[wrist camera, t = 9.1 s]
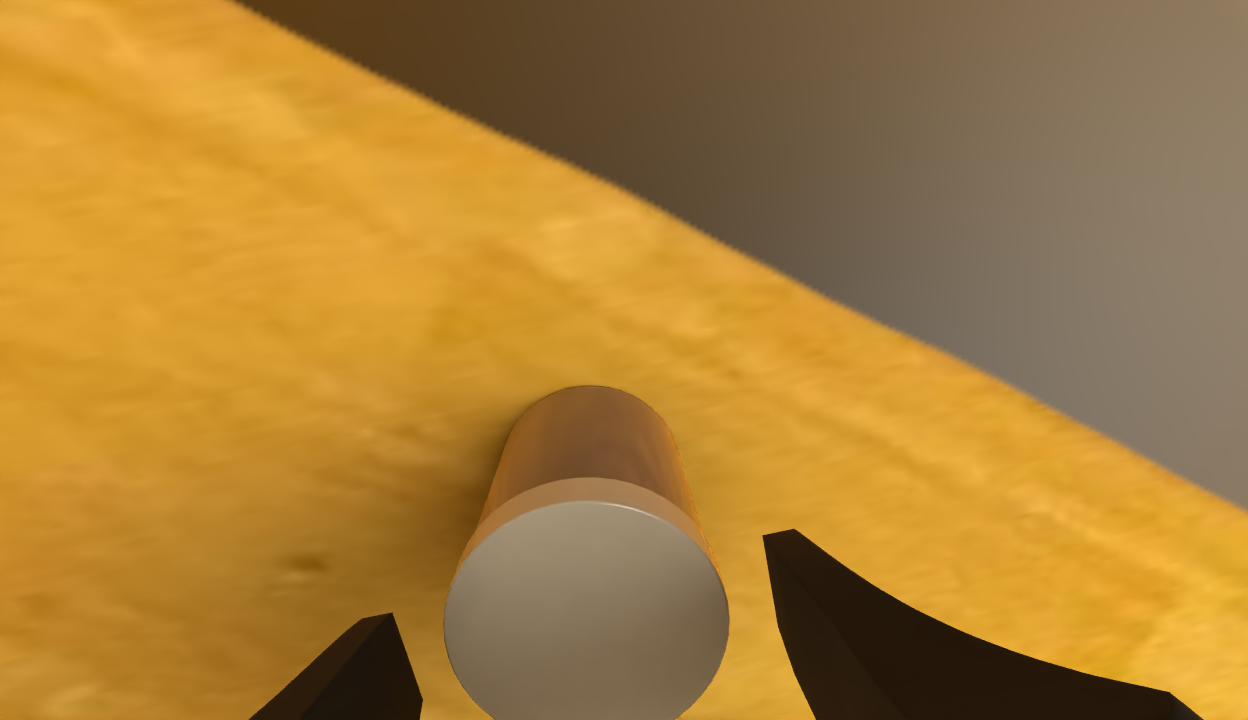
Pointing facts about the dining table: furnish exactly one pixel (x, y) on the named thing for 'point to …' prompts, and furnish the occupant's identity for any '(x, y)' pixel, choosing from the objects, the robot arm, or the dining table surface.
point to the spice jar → (587, 572)
